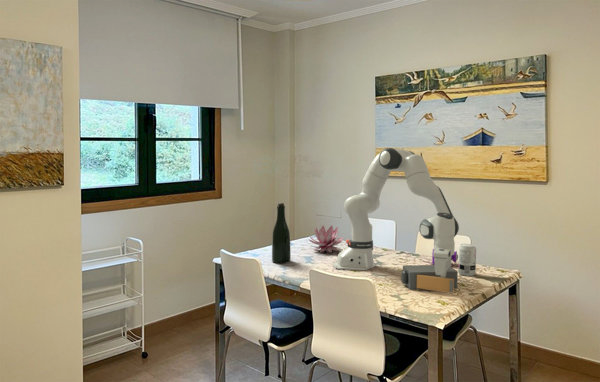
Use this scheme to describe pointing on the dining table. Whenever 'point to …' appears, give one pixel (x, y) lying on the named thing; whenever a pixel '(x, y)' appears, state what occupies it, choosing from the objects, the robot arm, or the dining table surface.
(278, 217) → the beer bottle
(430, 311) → the dining table surface
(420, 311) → the dining table surface
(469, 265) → the supplement can
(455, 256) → the toy camera
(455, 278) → the grey cabinet
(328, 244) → the decorative flower
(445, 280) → the side door
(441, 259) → the robot arm
